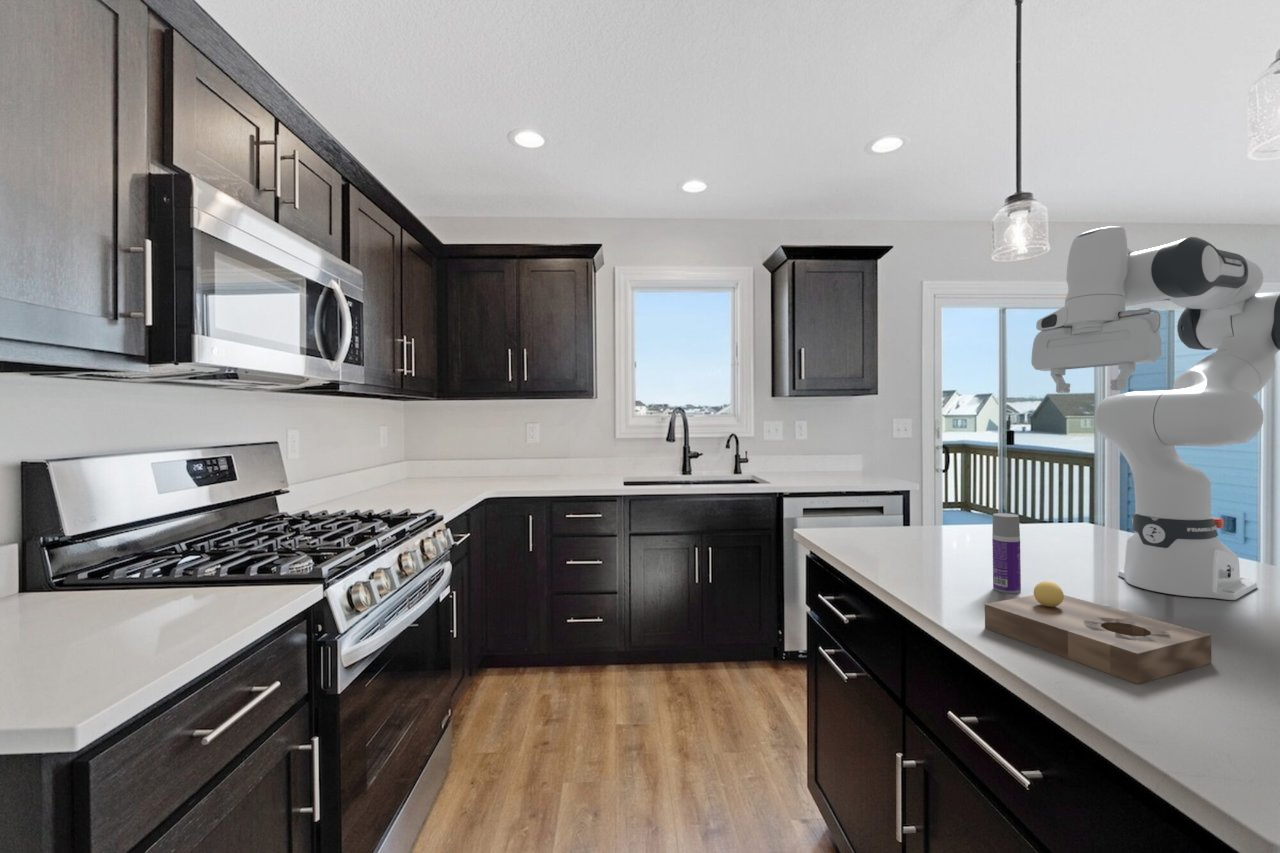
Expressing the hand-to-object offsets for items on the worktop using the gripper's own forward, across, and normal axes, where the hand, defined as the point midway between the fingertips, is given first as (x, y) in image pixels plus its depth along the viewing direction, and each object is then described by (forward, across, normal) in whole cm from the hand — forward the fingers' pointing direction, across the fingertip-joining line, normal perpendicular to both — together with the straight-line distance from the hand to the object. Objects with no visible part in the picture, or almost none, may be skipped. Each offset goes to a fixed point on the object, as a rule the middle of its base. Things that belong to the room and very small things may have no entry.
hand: (1089, 391), depth 106 cm
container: (+40, +12, +2) cm, 41 cm away
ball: (+35, -6, +16) cm, 39 cm away
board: (+41, -12, +16) cm, 45 cm away
